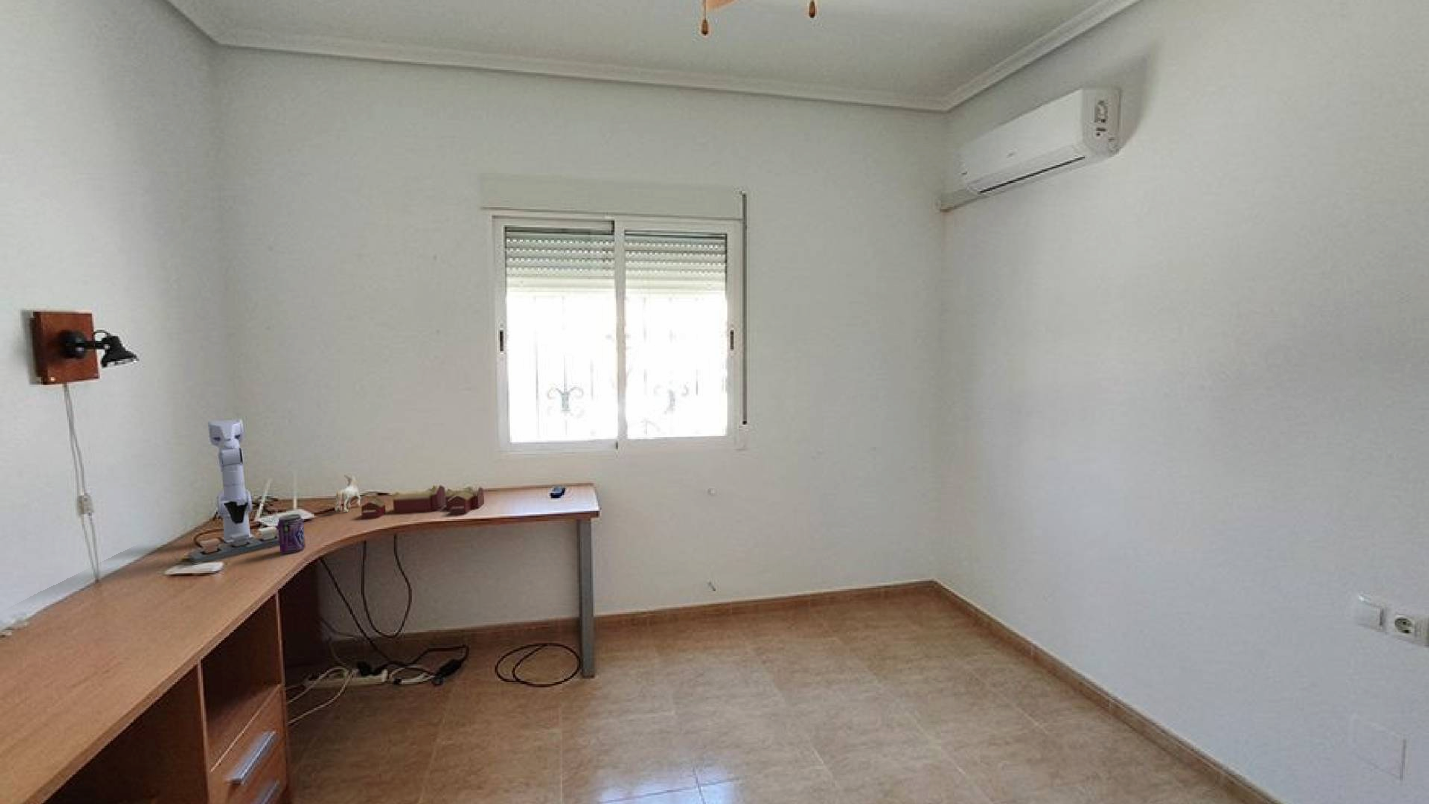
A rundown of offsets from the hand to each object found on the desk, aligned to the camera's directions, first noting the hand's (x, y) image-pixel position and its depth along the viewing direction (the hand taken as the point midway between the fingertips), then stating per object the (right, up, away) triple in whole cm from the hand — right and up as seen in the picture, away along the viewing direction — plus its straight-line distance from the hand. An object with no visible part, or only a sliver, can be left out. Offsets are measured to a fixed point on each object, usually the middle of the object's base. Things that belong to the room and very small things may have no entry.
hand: (237, 522), depth 207 cm
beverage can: (+20, -10, -1) cm, 22 cm away
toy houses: (+42, -5, +46) cm, 62 cm away
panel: (0, -10, +1) cm, 10 cm away
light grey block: (0, -8, +1) cm, 8 cm away
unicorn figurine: (+4, -5, +52) cm, 53 cm away
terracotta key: (-5, -8, -5) cm, 11 cm away
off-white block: (+5, -7, +7) cm, 11 cm away
